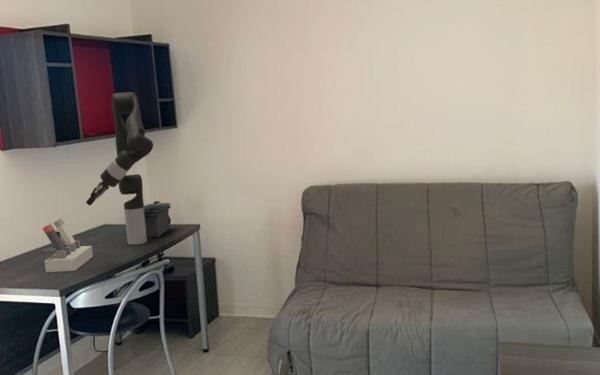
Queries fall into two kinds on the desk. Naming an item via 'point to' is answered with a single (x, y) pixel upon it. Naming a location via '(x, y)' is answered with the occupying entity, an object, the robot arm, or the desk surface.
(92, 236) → the desk surface
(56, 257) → the switch box
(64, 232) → the ivory lever
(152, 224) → the storage bin
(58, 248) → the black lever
